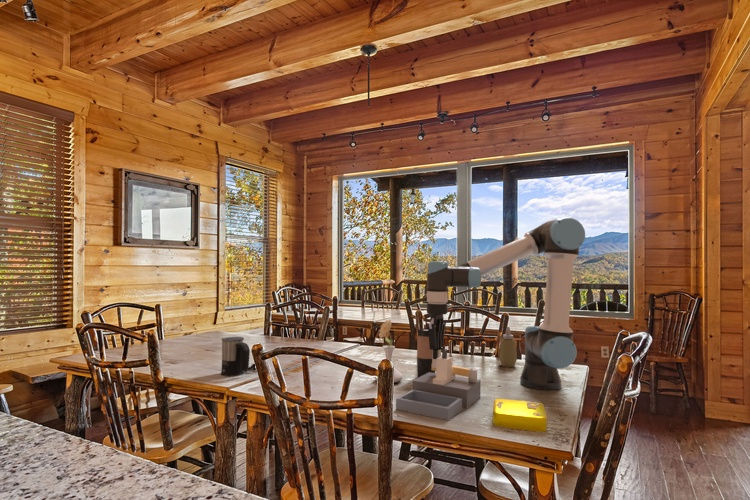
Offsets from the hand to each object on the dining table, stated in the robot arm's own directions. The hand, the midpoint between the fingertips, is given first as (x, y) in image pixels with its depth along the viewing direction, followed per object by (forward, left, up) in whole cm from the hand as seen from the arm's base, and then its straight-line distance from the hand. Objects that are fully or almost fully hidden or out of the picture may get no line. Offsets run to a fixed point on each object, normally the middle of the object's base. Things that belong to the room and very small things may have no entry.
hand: (436, 367), depth 161 cm
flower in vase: (+22, -3, -10) cm, 24 cm away
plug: (-5, +4, -6) cm, 9 cm away
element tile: (-32, +12, -10) cm, 36 cm away
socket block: (-5, +3, -9) cm, 11 cm away
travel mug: (+12, -17, -9) cm, 23 cm away
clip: (-6, -1, -3) cm, 7 cm away
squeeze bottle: (-11, -58, -9) cm, 60 cm away
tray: (-5, +18, -9) cm, 21 cm away
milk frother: (+81, +19, -10) cm, 84 cm away
